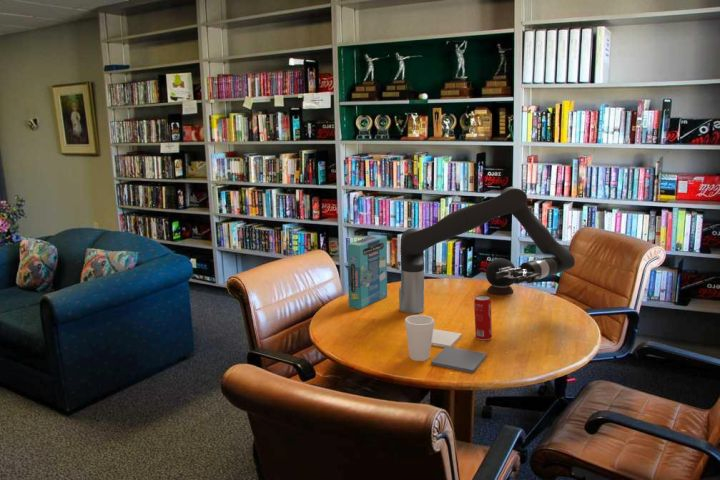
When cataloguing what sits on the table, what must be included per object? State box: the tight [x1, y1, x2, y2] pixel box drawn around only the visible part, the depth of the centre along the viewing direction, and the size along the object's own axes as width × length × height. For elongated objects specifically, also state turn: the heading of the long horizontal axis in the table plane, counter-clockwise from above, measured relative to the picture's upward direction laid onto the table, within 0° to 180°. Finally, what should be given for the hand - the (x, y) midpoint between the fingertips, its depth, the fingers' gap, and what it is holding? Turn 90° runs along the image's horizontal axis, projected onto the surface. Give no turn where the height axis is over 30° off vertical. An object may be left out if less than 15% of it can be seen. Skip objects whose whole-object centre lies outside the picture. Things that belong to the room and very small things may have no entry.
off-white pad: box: [431, 328, 463, 348], centre depth 208 cm, size 12×12×1 cm
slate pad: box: [430, 346, 488, 374], centre depth 190 cm, size 14×14×1 cm
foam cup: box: [404, 314, 435, 362], centre depth 192 cm, size 10×9×13 cm
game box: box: [347, 234, 388, 310], centre depth 247 cm, size 20×6×27 cm, turn 144°
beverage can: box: [473, 295, 493, 341], centre depth 207 cm, size 6×6×15 cm
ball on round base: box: [485, 257, 516, 296], centre depth 259 cm, size 13×13×15 cm
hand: (505, 278), depth 211 cm, fingers open, 8 cm apart
